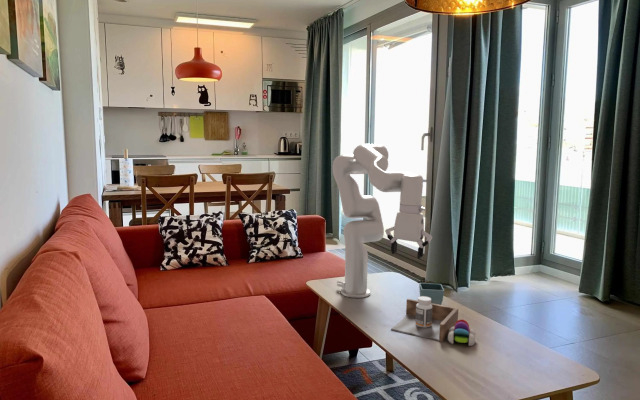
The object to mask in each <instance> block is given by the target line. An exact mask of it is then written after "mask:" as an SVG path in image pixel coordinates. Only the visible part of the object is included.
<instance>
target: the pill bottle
mask: <svg viewBox="0 0 640 400" xmlns="http://www.w3.org/2000/svg"><path fill="white" fill-rule="evenodd" d="M417 301H418V303H417V304H416V320H415V323H416V325H417V326H419V327H423V328H427V327H430V326H431V325H432V305H431V304H430V303H431V298H429V297H425V296H421V297H420V296H418V297H417Z"/></svg>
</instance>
